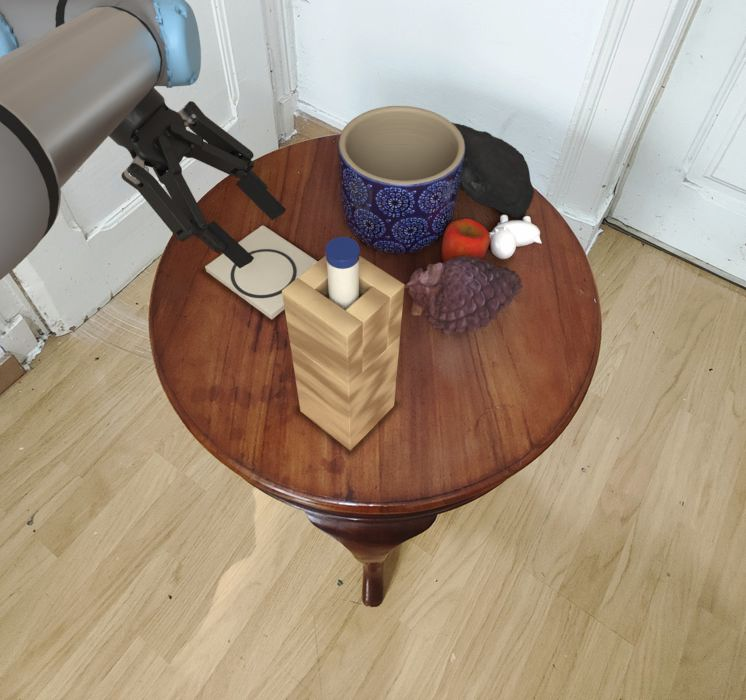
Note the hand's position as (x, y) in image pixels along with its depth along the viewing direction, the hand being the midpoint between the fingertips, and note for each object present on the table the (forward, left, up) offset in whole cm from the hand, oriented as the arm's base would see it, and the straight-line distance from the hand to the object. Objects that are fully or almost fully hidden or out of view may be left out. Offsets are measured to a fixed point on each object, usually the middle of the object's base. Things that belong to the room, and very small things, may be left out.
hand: (263, 238), depth 81 cm
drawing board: (+1, +2, -8) cm, 8 cm away
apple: (+18, -18, -8) cm, 27 cm away
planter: (+20, -6, -8) cm, 22 cm away
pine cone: (+13, -24, -8) cm, 28 cm away
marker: (-8, -21, +6) cm, 24 cm away
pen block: (-8, -21, -8) cm, 24 cm away
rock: (+35, -13, -9) cm, 39 cm away
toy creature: (+30, -20, -6) cm, 36 cm away
